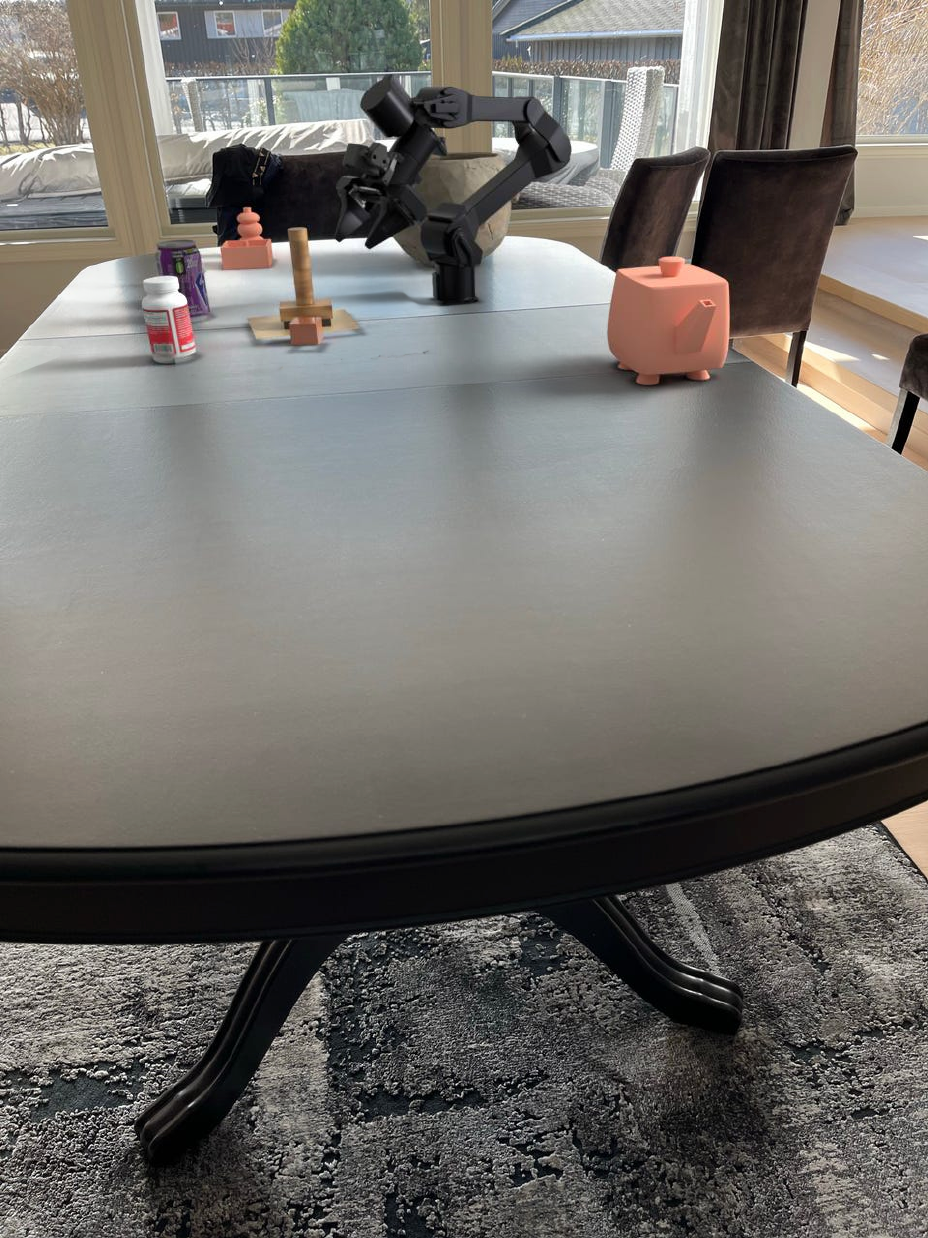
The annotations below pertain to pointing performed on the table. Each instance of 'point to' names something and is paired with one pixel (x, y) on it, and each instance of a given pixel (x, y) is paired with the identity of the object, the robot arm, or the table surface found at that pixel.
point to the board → (275, 328)
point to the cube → (306, 331)
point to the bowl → (457, 197)
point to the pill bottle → (167, 320)
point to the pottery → (247, 245)
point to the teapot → (669, 320)
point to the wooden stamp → (303, 284)
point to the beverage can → (185, 272)
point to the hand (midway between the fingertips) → (351, 243)
